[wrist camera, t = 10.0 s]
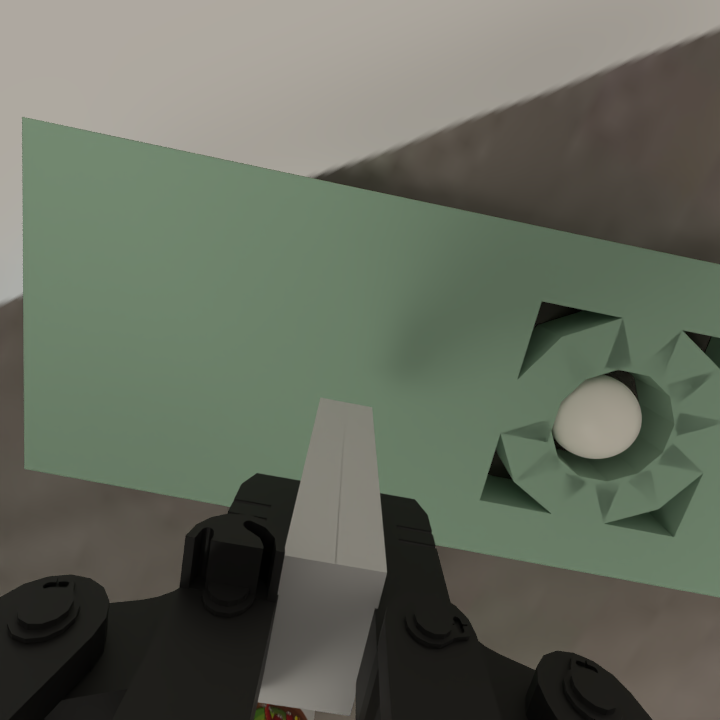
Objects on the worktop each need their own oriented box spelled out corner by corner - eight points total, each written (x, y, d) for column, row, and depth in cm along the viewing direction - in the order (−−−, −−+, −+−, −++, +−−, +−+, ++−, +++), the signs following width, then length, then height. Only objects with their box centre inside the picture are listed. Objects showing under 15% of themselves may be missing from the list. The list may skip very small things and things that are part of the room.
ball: (626, 486, 17) (623, 454, 20) (659, 399, 16) (651, 379, 19) (530, 451, 19) (541, 427, 22) (555, 370, 18) (562, 356, 21)
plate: (62, 443, 22) (24, 468, 19) (68, 132, 18) (22, 116, 16) (689, 560, 23) (727, 598, 20) (818, 291, 19) (883, 299, 17)
